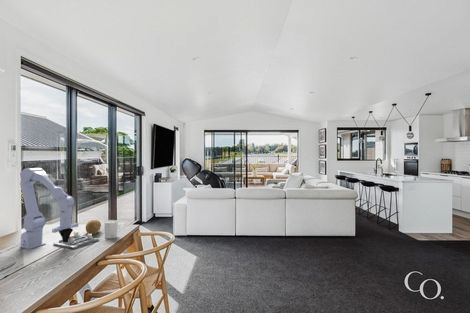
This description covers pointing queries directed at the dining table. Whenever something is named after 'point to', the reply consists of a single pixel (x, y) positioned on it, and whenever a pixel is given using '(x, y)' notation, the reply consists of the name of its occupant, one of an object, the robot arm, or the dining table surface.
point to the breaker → (71, 239)
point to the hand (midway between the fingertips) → (65, 242)
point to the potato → (93, 227)
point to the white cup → (111, 228)
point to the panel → (77, 241)
